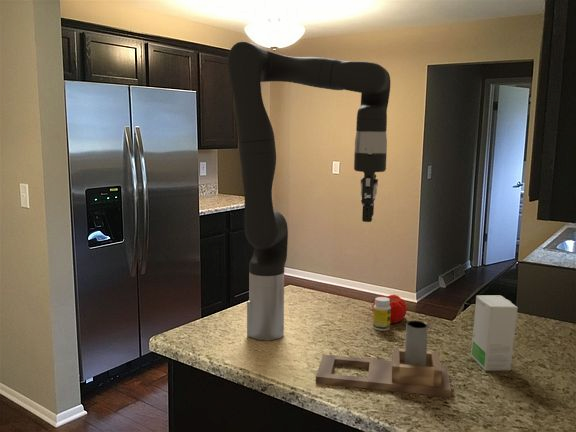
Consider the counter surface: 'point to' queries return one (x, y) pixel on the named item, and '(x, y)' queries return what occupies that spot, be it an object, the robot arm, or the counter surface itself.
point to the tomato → (396, 308)
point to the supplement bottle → (382, 314)
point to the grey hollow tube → (416, 343)
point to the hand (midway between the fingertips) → (367, 218)
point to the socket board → (389, 374)
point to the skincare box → (493, 332)
